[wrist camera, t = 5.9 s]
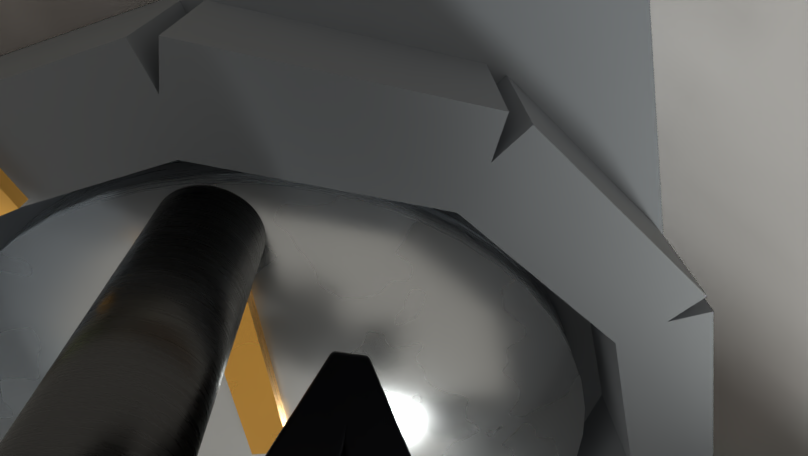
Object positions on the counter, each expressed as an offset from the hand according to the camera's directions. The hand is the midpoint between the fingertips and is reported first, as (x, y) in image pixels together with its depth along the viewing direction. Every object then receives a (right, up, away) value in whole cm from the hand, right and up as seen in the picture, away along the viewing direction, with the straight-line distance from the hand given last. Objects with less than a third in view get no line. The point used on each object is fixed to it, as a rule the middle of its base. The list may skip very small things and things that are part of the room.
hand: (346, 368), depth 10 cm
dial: (-2, -3, +7) cm, 8 cm away
